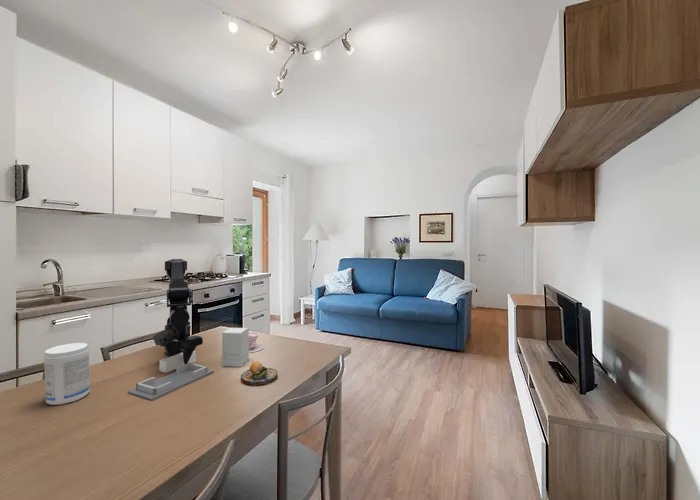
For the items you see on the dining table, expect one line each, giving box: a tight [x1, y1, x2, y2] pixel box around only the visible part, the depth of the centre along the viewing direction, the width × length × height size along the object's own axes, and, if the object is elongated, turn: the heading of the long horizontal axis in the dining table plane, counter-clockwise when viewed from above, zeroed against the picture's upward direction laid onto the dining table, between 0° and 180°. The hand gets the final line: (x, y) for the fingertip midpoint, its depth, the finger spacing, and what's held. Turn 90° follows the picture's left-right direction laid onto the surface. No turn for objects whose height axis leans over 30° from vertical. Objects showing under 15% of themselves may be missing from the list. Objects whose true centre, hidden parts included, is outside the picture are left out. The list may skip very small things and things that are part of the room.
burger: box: [240, 359, 278, 387], centre depth 105 cm, size 12×12×8 cm
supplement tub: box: [43, 342, 91, 406], centre depth 90 cm, size 10×10×15 cm
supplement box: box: [221, 327, 250, 368], centre depth 118 cm, size 7×7×13 cm
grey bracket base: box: [127, 362, 215, 402], centre depth 101 cm, size 11×22×2 cm, turn 156°
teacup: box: [249, 331, 265, 354], centre depth 135 cm, size 12×12×6 cm
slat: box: [159, 350, 197, 373], centre depth 115 cm, size 4×12×4 cm, turn 155°
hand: (178, 362), depth 115 cm, fingers open, 7 cm apart
